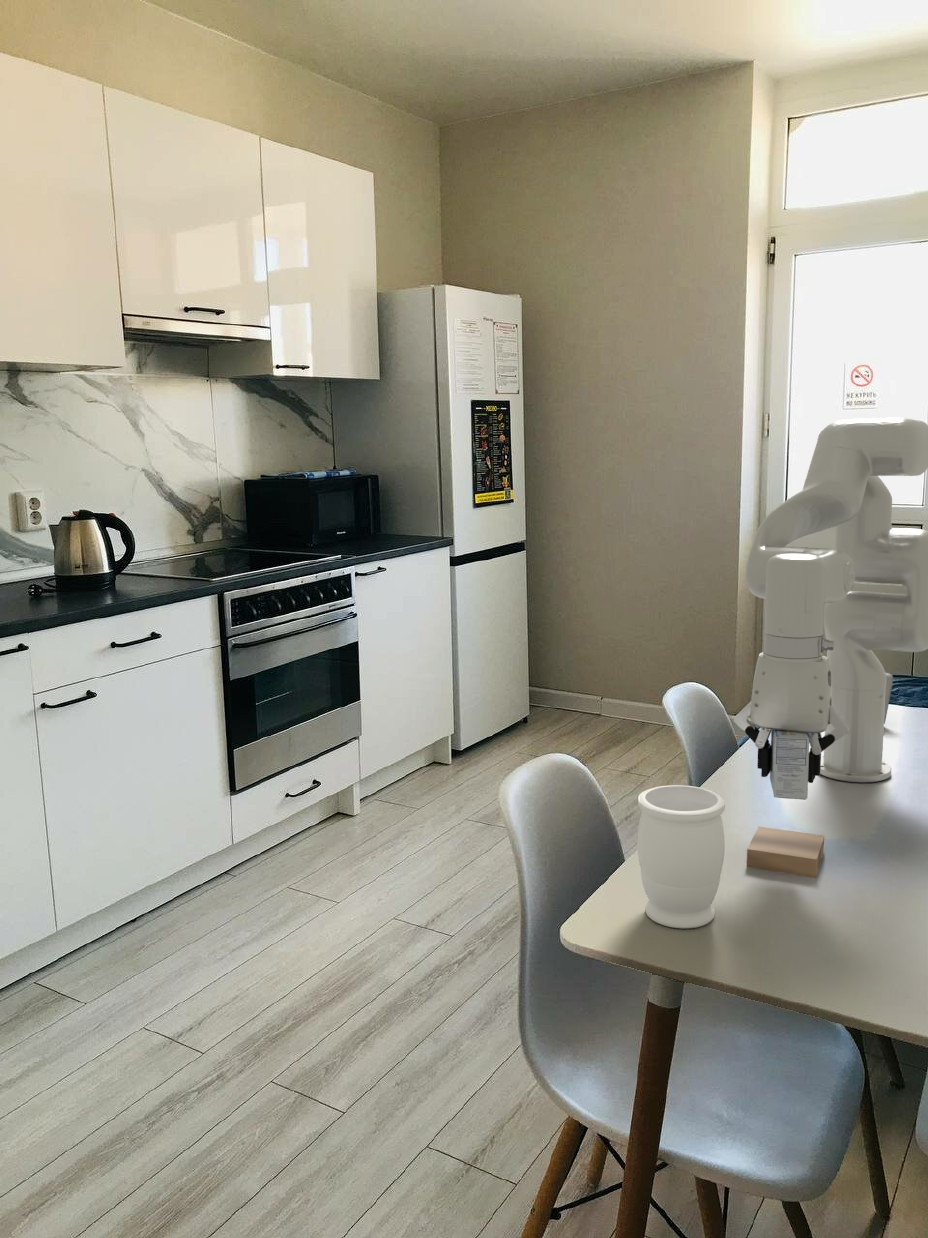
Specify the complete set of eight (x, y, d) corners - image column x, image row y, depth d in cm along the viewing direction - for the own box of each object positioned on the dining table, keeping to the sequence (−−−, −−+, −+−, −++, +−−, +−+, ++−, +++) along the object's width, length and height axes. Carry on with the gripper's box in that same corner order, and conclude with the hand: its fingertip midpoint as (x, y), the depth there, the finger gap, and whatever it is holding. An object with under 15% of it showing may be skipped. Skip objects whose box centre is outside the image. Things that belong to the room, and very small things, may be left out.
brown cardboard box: (757, 846, 146) (758, 826, 145) (823, 855, 142) (824, 835, 141) (746, 869, 138) (747, 849, 137) (815, 880, 134) (816, 859, 133)
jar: (706, 942, 117) (708, 819, 115) (623, 922, 123) (624, 804, 120) (734, 906, 126) (737, 792, 124) (655, 889, 132) (657, 778, 129)
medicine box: (807, 800, 134) (810, 737, 132) (772, 798, 135) (775, 735, 133) (801, 781, 141) (804, 721, 140) (768, 779, 142) (771, 720, 141)
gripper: (864, 646, 134) (858, 777, 137) (734, 637, 142) (731, 761, 145) (858, 656, 127) (851, 794, 130) (721, 647, 135) (719, 777, 138)
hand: (788, 775), depth 138 cm, fingers closed on medicine box, 5 cm apart
